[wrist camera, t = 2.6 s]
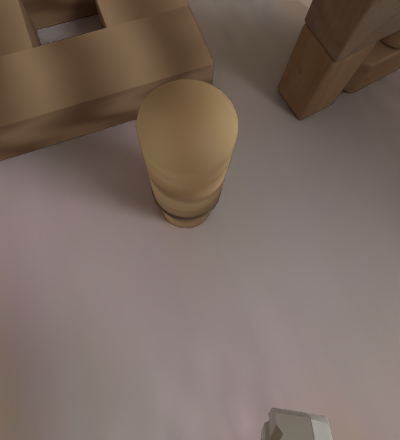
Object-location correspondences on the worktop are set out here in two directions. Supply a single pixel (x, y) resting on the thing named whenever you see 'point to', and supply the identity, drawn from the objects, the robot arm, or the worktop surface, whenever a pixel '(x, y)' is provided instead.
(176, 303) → the worktop surface
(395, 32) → the wooden braced stand
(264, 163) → the worktop surface
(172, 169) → the peg
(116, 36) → the board
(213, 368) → the worktop surface
